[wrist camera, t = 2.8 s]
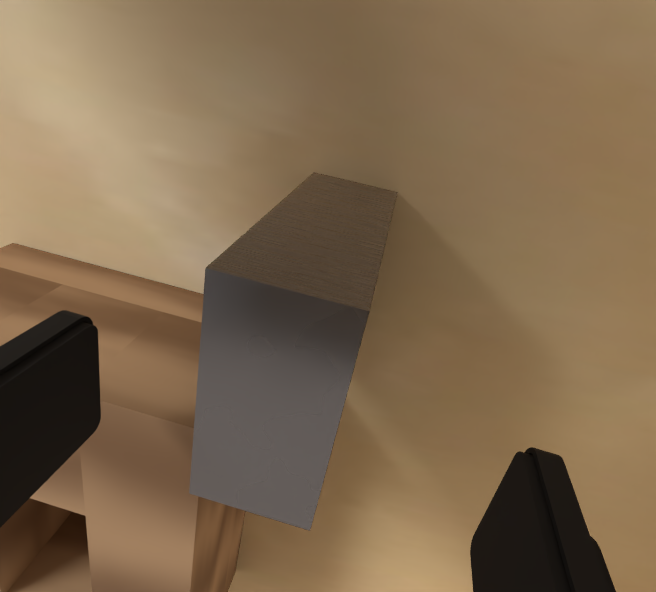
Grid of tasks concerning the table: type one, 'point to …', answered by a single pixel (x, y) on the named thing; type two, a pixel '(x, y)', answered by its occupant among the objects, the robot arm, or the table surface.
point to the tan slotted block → (118, 443)
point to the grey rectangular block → (285, 346)
